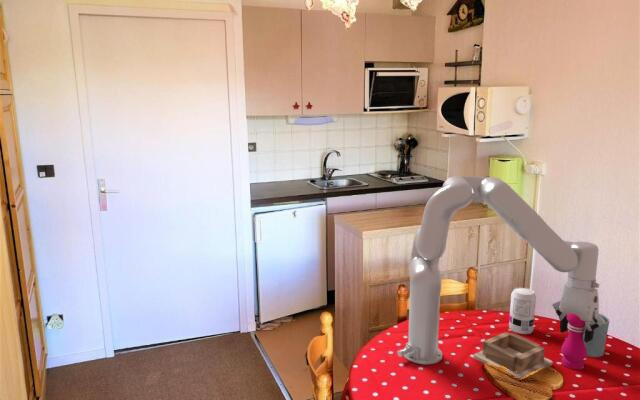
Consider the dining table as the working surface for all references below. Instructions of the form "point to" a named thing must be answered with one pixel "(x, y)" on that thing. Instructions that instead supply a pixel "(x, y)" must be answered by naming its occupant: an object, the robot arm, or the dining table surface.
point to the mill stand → (513, 354)
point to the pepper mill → (574, 343)
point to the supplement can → (522, 310)
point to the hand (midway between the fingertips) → (575, 335)
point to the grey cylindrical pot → (597, 339)
